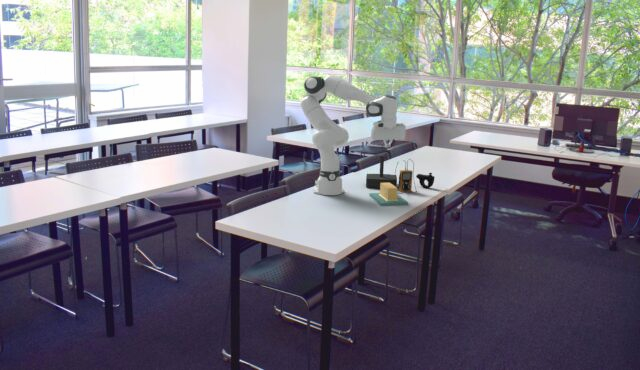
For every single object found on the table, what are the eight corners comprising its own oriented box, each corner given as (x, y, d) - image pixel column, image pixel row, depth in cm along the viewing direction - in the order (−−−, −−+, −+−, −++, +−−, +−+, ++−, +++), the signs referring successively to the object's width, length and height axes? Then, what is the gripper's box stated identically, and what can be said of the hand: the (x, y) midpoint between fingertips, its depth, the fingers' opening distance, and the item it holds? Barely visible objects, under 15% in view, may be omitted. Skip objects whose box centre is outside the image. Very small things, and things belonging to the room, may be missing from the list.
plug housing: (379, 194, 338) (380, 182, 336) (389, 194, 339) (389, 182, 337) (387, 200, 325) (388, 188, 323) (396, 200, 326) (397, 188, 324)
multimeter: (398, 195, 343) (400, 162, 338) (393, 191, 353) (394, 159, 348) (421, 194, 346) (423, 162, 341) (415, 190, 356) (417, 158, 351)
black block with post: (395, 183, 373) (397, 153, 369) (396, 189, 357) (398, 158, 352) (366, 182, 375) (367, 152, 370) (365, 188, 359) (367, 157, 354)
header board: (369, 195, 341) (369, 185, 340) (394, 194, 345) (395, 184, 343) (380, 205, 320) (381, 194, 319) (407, 204, 324) (408, 193, 322)
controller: (431, 189, 358) (432, 174, 355) (414, 186, 366) (415, 171, 363) (435, 188, 361) (436, 173, 358) (418, 185, 369) (419, 170, 366)
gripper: (403, 122, 338) (402, 145, 341) (370, 123, 334) (369, 146, 337) (407, 124, 332) (406, 147, 336) (373, 124, 328) (372, 148, 331)
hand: (387, 147), depth 336 cm, fingers closed
